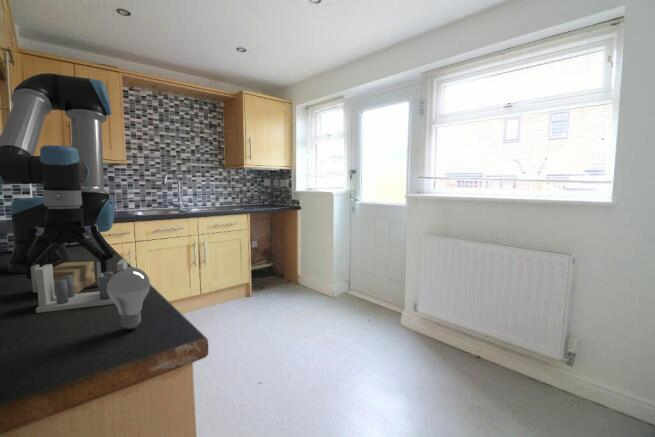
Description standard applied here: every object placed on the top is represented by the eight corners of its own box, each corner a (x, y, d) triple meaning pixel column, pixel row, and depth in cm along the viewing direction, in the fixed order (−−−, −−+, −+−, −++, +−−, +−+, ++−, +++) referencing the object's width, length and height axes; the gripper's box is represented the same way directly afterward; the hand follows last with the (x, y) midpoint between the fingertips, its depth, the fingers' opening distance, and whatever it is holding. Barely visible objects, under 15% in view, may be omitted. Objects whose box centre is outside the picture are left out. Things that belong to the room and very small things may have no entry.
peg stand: (51, 300, 75) (48, 263, 74) (130, 292, 81) (128, 257, 80) (36, 312, 68) (32, 271, 67) (123, 302, 74) (121, 265, 73)
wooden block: (66, 283, 88) (64, 262, 88) (95, 282, 90) (93, 261, 89) (41, 297, 78) (39, 273, 77) (74, 295, 79) (73, 271, 79)
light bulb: (160, 324, 63) (157, 265, 62) (128, 340, 56) (124, 274, 55) (134, 319, 65) (131, 261, 64) (100, 333, 59) (96, 270, 57)
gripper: (-10, 209, 73) (-1, 298, 75) (117, 207, 83) (122, 286, 85) (8, 207, 80) (15, 288, 82) (123, 205, 90) (127, 278, 92)
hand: (70, 287), depth 84 cm, fingers open, 13 cm apart
